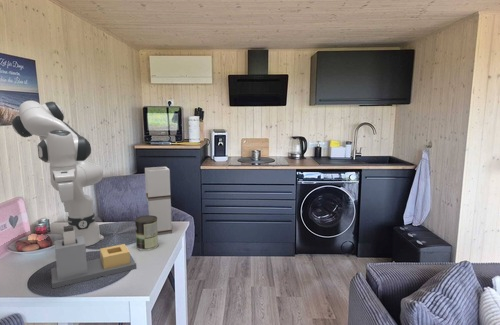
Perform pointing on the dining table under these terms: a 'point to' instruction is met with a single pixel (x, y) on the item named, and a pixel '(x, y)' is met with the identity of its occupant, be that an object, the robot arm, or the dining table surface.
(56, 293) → the dining table surface
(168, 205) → the striped beige pillar
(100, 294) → the dining table surface
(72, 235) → the plug
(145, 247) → the coffee can
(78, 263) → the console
